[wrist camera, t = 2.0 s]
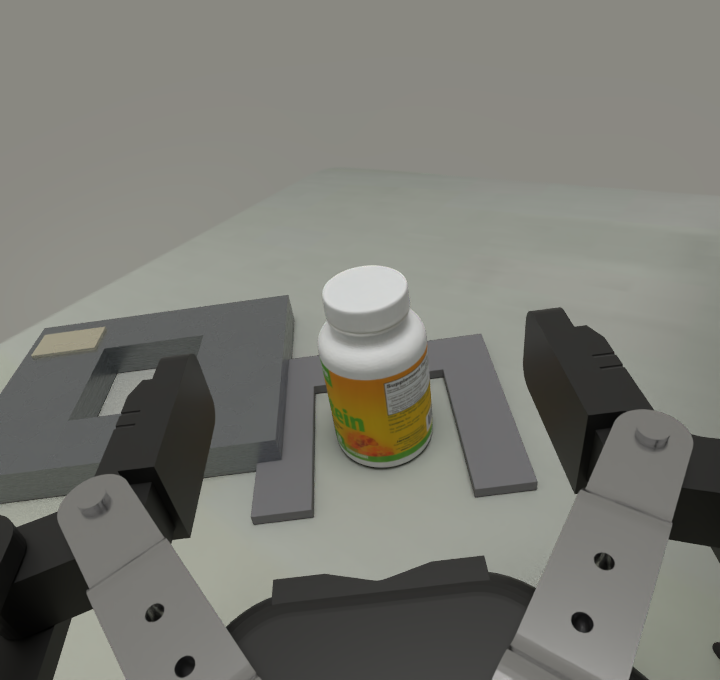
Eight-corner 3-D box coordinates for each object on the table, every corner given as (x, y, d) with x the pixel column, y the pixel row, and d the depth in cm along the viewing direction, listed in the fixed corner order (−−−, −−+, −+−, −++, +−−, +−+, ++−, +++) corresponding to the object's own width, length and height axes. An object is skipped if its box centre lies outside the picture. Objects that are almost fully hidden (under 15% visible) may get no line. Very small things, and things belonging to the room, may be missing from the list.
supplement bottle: (319, 431, 32) (284, 288, 26) (392, 386, 35) (374, 246, 29) (376, 488, 29) (350, 337, 23) (453, 434, 31) (448, 284, 25)
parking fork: (271, 368, 37) (269, 361, 37) (481, 340, 37) (481, 333, 37) (253, 524, 28) (250, 517, 27) (536, 489, 27) (537, 481, 27)
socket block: (294, 319, 42) (287, 292, 40) (284, 467, 30) (274, 437, 29) (58, 351, 42) (43, 326, 41) (-37, 508, 31) (-62, 480, 30)
